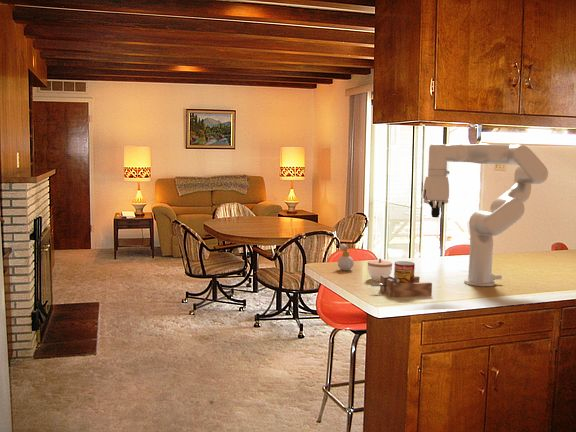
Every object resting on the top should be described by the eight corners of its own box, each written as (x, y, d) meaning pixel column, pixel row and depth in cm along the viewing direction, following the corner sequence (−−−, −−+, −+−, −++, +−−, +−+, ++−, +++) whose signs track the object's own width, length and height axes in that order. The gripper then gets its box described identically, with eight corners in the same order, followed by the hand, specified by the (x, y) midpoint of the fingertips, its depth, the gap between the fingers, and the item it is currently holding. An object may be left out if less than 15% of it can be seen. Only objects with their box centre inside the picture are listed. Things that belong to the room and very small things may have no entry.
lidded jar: (362, 278, 274) (363, 257, 273) (383, 276, 278) (384, 256, 277) (375, 283, 264) (376, 261, 263) (396, 281, 268) (397, 260, 267)
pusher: (390, 289, 251) (390, 274, 250) (398, 294, 242) (399, 279, 241) (367, 289, 249) (367, 275, 248) (375, 295, 240) (375, 280, 239)
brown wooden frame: (417, 288, 255) (418, 273, 255) (431, 295, 242) (432, 280, 242) (379, 289, 252) (379, 274, 251) (391, 296, 239) (391, 281, 238)
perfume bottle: (344, 272, 287) (345, 246, 285) (331, 268, 294) (331, 244, 293) (356, 270, 291) (357, 245, 290) (343, 267, 299) (343, 242, 298)
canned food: (391, 293, 245) (392, 263, 244) (396, 289, 252) (397, 260, 251) (411, 295, 242) (412, 265, 241) (415, 291, 249) (416, 262, 248)
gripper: (449, 173, 263) (447, 216, 265) (416, 173, 260) (415, 216, 262) (457, 174, 255) (455, 218, 257) (424, 173, 252) (422, 218, 254)
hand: (435, 217), depth 259 cm, fingers closed
